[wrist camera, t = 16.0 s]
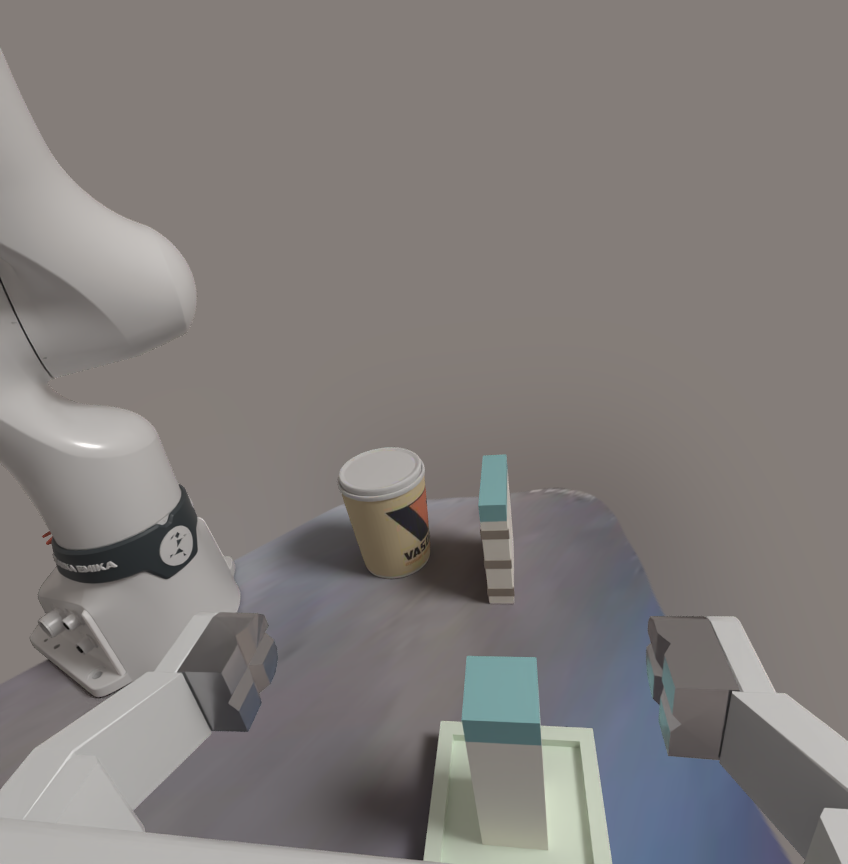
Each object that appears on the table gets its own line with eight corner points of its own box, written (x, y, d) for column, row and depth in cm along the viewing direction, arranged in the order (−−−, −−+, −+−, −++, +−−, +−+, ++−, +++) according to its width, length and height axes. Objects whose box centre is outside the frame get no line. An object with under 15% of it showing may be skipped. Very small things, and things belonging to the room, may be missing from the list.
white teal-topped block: (482, 844, 32) (461, 720, 27) (485, 777, 36) (466, 655, 31) (548, 850, 32) (540, 723, 26) (544, 781, 35) (536, 657, 30)
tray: (422, 918, 30) (418, 902, 30) (444, 736, 40) (440, 720, 39) (620, 943, 28) (621, 927, 28) (592, 744, 38) (592, 728, 37)
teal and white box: (488, 603, 52) (477, 505, 46) (491, 545, 60) (482, 455, 54) (515, 603, 51) (506, 504, 46) (514, 544, 59) (507, 454, 54)
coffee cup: (419, 591, 55) (401, 495, 49) (343, 577, 58) (318, 486, 53) (448, 536, 62) (435, 448, 57) (379, 526, 66) (361, 443, 61)
